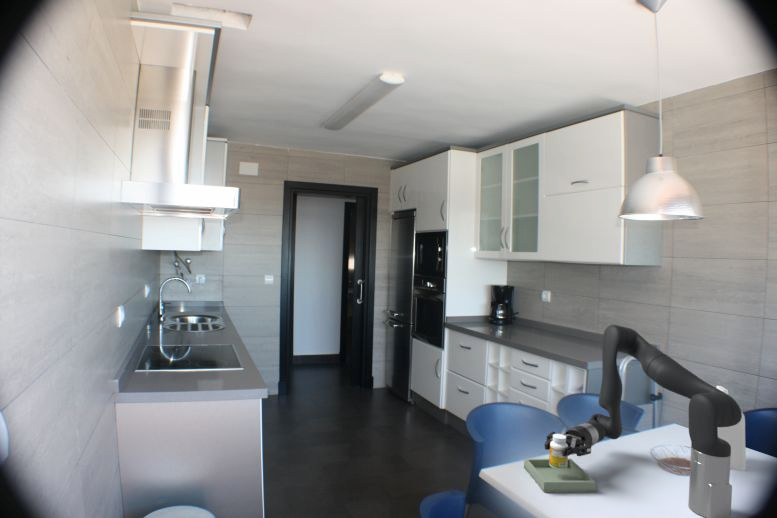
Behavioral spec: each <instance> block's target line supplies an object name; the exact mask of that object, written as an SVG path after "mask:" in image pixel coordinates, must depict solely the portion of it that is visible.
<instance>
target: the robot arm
mask: <svg viewBox="0 0 777 518" xmlns="http://www.w3.org/2000/svg"><path fill="white" fill-rule="evenodd" d="M602 334H603V335H602V352H601V353H602V357H601V358H602V359H601V361H602V363H601V364H602V370H601V371H602V376H601V377H602V378H601V384H600V391H599V396H598V397H599V398H598V406H599V407H601V408H602V409H604V410H606V411H607V412H608V414H609V416H607V415H605V414H601V413H595V414H592V415H591V416H590V418H589V420H588V421H586V422H584V423H580V424H578V425H575V426H573V427H570V428H569V429H567V430H566V432H565V433H564V434H562V435H564V436H566V442H565V443H567V445H568V447H566V448H564V449H563V450H562V456H564V457H566V456H568V457H569V456H570V455H572V456H573V455H576V456H577V457H583V456H586V455H590V454H592V448H593V446H595V445H596V444H599V443H600V442H602V441H603V440H604V439H605V438H608V439H611V440H617V439H619V438H620V437H621V435H622V434H623V433H622V432H623V424H622V416H621V403H622V396H623V382H622V379H621V375H620V373H619V369H618V364H617V360H618V359H617V358H618V352H619V353H623V354H626V355H629V356H631V357H632V358H634V359H635V360H637V361H638V362H639V363H640V365H641V369H642V370H643V372H644V374H645V375H646V376H647V377H648V378H650V379H651V380H652V381H653V382H655V383H656V384H657V385H658V386H660V387H661V388H663V389H665V390H668V391H669V392H671V393H674V394H677V395H680V396H682V397H684V398H687V399H689V402H688V434H689V438H690V442H691V445H690V459H689V460H690V462H689V485H688V486H689V487H688V508H689V509H690V511H692V512H693V513H695V514H697V515H699V516H701V517H704V518H731V516H732V499H733V497H732V496H733V495H732V494H733V486H732V484H731V483H730V479H731V478H730V477H731V476H730V475H731V469H730V458H731V446H730V444H729V443H728V442H727V441H725V440H723V439H720V438H718V428H717V427H730V426H734V425H736V424H738V423H739V422H740V421H741V418H742V413H743V412H742V409H741V408H740V405H739V404H738V402H737V401H736V400H735V399H734V398H733V397H732V396H731V395H728V394H729V393H728V394H726V393H724V392H722V391H721V390H719V389H717V388H716V387H715V386H713V385H712V384H710V383H708V382H707V381H705V380H703V379H702V378H701V377H698V376H697V375H696V374H694V373H693V372H692V371H690V370H689V369H687V368H685V367H684V366H682V365H681V363H679V362H678V361H677V360H675V359H674V358H672V357H670V356H669V355H667V354H666V353H664V352H663V351H661V350H660V349H659V348H657V347H655V346H654V345H652V344H650V342H648V341H647V340H646V339H645V338H644V337H643V336H642V335H640V334H639V333H638V332H637V331H636V330H635V329H632V328H630V327H625V326H621V325H618V324H610V325H608V326H607V327H606V328H605V329H604V332H603V333H602ZM553 434H557V432H556V431H551V432H550V433H548V435H546V439H545V440H546V441H545V442H544V450H546V451H548V450H550V443H551V441H553Z"/></svg>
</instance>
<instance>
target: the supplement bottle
mask: <svg viewBox="0 0 777 518" xmlns="http://www.w3.org/2000/svg"><path fill="white" fill-rule="evenodd" d="M565 442H566V436H564V435H563V434H562V433H556V434H553V441H551V443H550V449H549V458H548V459H549V465H550V466H551V467H552V468H554V469H557V470H565V469H567V463H568V459H569V458H568V457H569V456H566V457H564V456H562V450H563V449H564V448H566V447H568V445H567V443H565Z"/></svg>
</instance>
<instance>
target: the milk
mask: <svg viewBox="0 0 777 518" xmlns="http://www.w3.org/2000/svg"><path fill="white" fill-rule="evenodd" d="M715 388H717V389H719V390H721V391H722V392H724V393H726V394H728V395H729V390H728V389H727V388H725V387H724V386H722V385H716V387H715ZM729 396H730V395H729ZM717 428H718V438H720V439H723V440H725V441H727V442H728V443H729V444H730V446H731V458H730V470H734V471H735V470H737V471H743V472H744V471H747V470H746V469H747V468H746V467H747V465H746V463H747V462H746V461H747V460H746V418H745V414H744V413H743V412H742V418H741V421H740V422H739V423H738V424H736V425H734V426H730V427H717Z"/></svg>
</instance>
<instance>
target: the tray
mask: <svg viewBox="0 0 777 518" xmlns="http://www.w3.org/2000/svg"><path fill="white" fill-rule="evenodd" d="M523 469H524V470H525V471H526V472H527V474H530V475H529V476H530V477H531V479H534V480H535V481H534V480H533V481H534V483H536V485H537V484H538V485H537V486H538V487H539V488H540V490H541V491H542V490H543V491H542V492H543V493H596V492H597V491H596V490H597V482H596V481H595V480H594V479H593V478H592V477H591V476H590V475H589V474H588V473H587V472H586V471H584V469H583V468H582V467H580V465H578V464H577V463H576V462H575V461H574V460H573V459H572V458H568V463H567V469H565V470H557V469H554V468H552V467H551V466H550V465H549V458H524V459H523Z"/></svg>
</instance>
